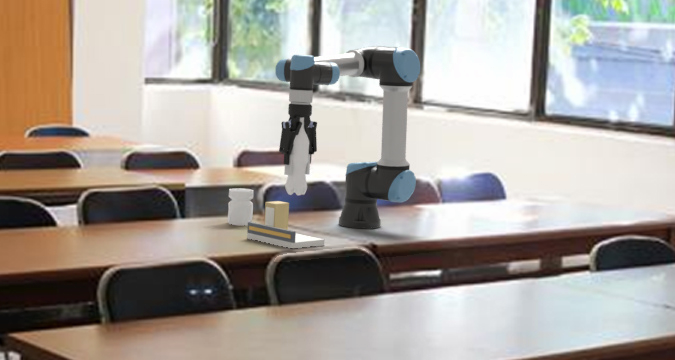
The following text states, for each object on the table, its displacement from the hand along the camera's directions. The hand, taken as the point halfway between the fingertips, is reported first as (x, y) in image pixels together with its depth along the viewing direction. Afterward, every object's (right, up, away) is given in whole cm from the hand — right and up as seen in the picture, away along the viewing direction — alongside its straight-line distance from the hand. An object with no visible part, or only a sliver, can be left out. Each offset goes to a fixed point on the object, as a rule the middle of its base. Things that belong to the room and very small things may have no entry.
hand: (296, 174), depth 415 cm
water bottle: (0, -7, +1) cm, 7 cm away
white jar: (-21, -17, +40) cm, 49 cm away
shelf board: (-4, -22, +5) cm, 23 cm away
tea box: (-7, -19, +12) cm, 24 cm away
